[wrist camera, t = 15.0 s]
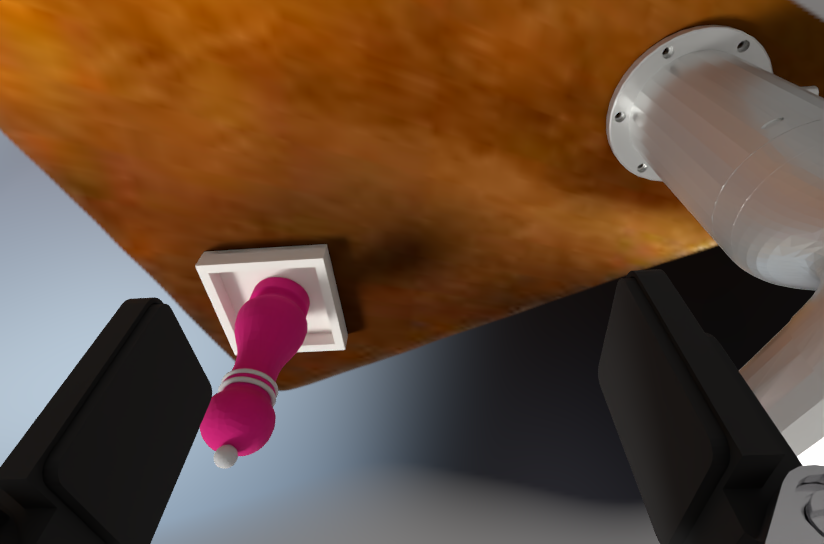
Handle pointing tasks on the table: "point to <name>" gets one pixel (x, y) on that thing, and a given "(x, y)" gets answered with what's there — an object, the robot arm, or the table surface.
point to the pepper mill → (256, 369)
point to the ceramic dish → (306, 265)
